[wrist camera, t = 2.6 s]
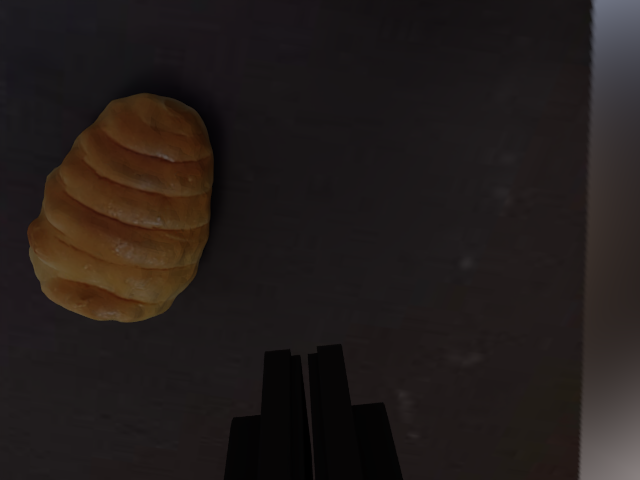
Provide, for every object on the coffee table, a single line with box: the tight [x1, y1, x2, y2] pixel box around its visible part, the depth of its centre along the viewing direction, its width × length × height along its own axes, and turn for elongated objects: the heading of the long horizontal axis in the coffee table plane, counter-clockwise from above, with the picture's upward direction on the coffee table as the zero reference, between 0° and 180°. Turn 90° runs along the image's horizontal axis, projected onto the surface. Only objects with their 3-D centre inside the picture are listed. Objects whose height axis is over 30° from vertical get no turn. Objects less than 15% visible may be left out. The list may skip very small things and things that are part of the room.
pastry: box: [27, 93, 214, 322], centre depth 20 cm, size 9×7×4 cm
